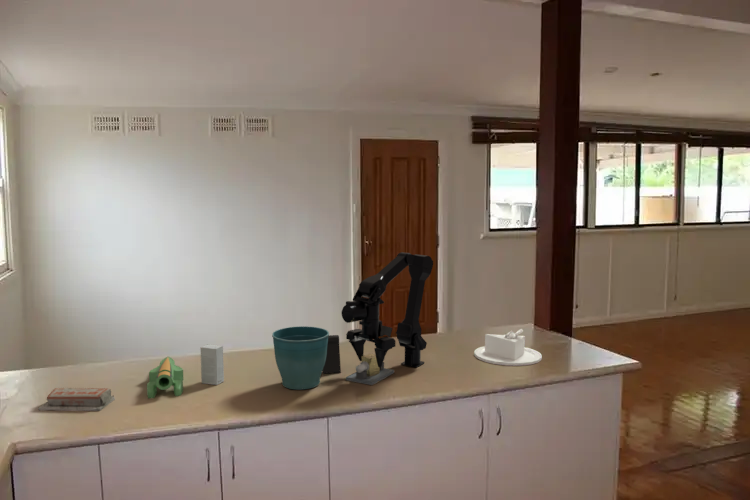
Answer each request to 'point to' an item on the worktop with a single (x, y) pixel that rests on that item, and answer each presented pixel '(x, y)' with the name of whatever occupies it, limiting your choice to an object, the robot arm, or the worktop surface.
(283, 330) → the flower pot
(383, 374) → the grey plate with pegs
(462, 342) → the worktop surface
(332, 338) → the phone stand
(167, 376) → the toy spaceship
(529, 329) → the worktop surface
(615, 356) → the worktop surface
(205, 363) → the skincare box
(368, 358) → the tan block
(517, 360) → the dish
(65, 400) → the packaged product
